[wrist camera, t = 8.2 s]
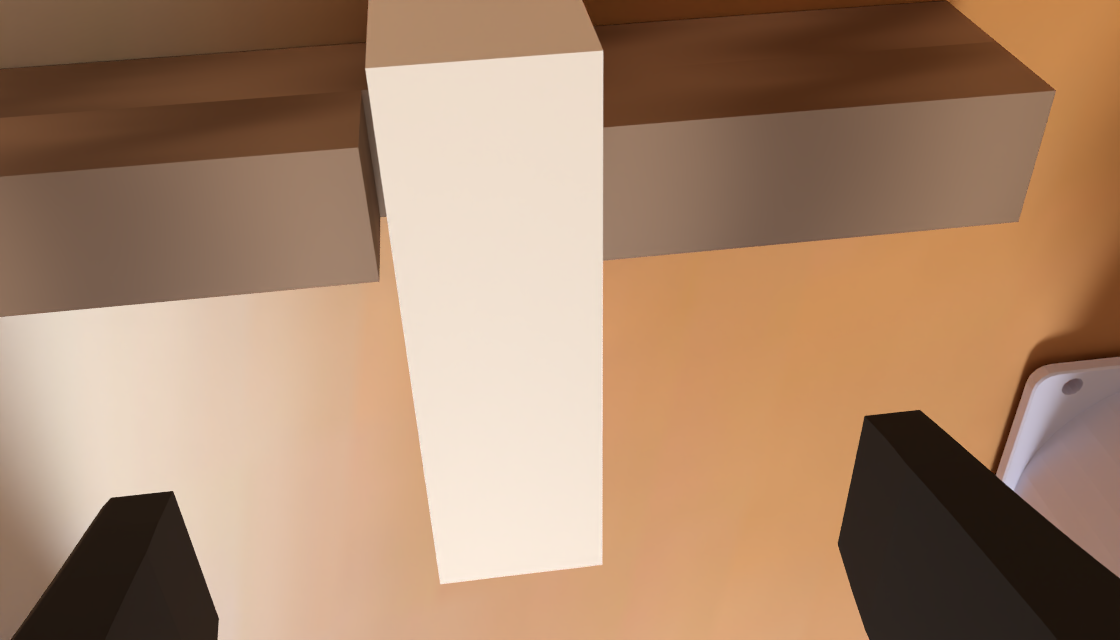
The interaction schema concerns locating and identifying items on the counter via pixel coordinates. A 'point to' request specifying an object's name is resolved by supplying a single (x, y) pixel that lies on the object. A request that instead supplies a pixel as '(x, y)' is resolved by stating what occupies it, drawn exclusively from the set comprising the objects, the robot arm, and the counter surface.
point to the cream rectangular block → (498, 269)
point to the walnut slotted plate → (628, 152)
